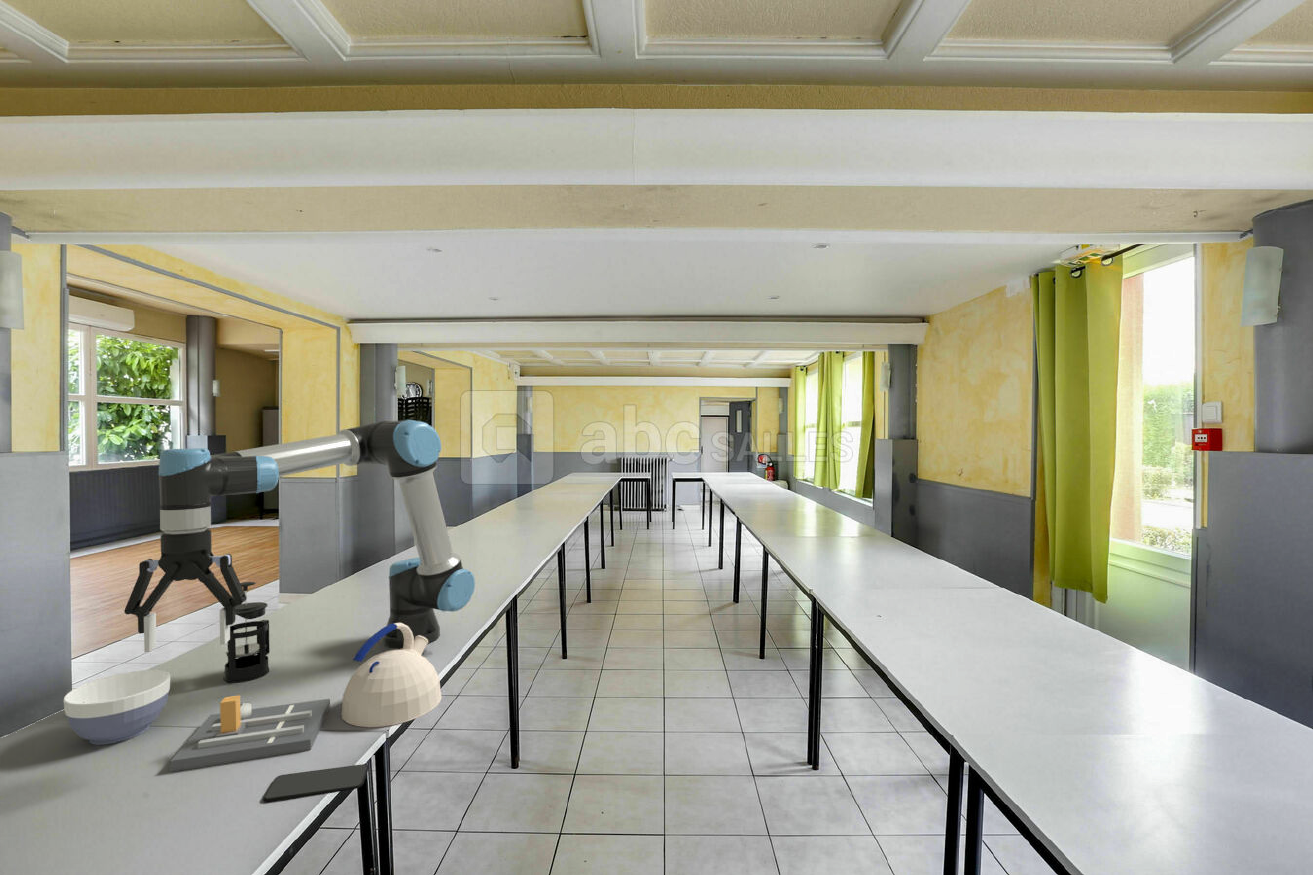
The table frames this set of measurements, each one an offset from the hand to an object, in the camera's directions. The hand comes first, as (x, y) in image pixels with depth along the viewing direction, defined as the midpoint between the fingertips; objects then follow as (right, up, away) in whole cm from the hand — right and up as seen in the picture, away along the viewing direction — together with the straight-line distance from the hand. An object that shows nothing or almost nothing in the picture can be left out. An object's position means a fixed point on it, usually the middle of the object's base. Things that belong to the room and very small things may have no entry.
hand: (188, 645), depth 112 cm
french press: (-13, -20, +36) cm, 43 cm away
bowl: (-20, -20, +7) cm, 29 cm away
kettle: (+30, -20, +19) cm, 41 cm away
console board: (+10, -20, +6) cm, 23 cm away
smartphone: (+30, -21, -10) cm, 38 cm away
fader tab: (+6, -18, +2) cm, 19 cm away
